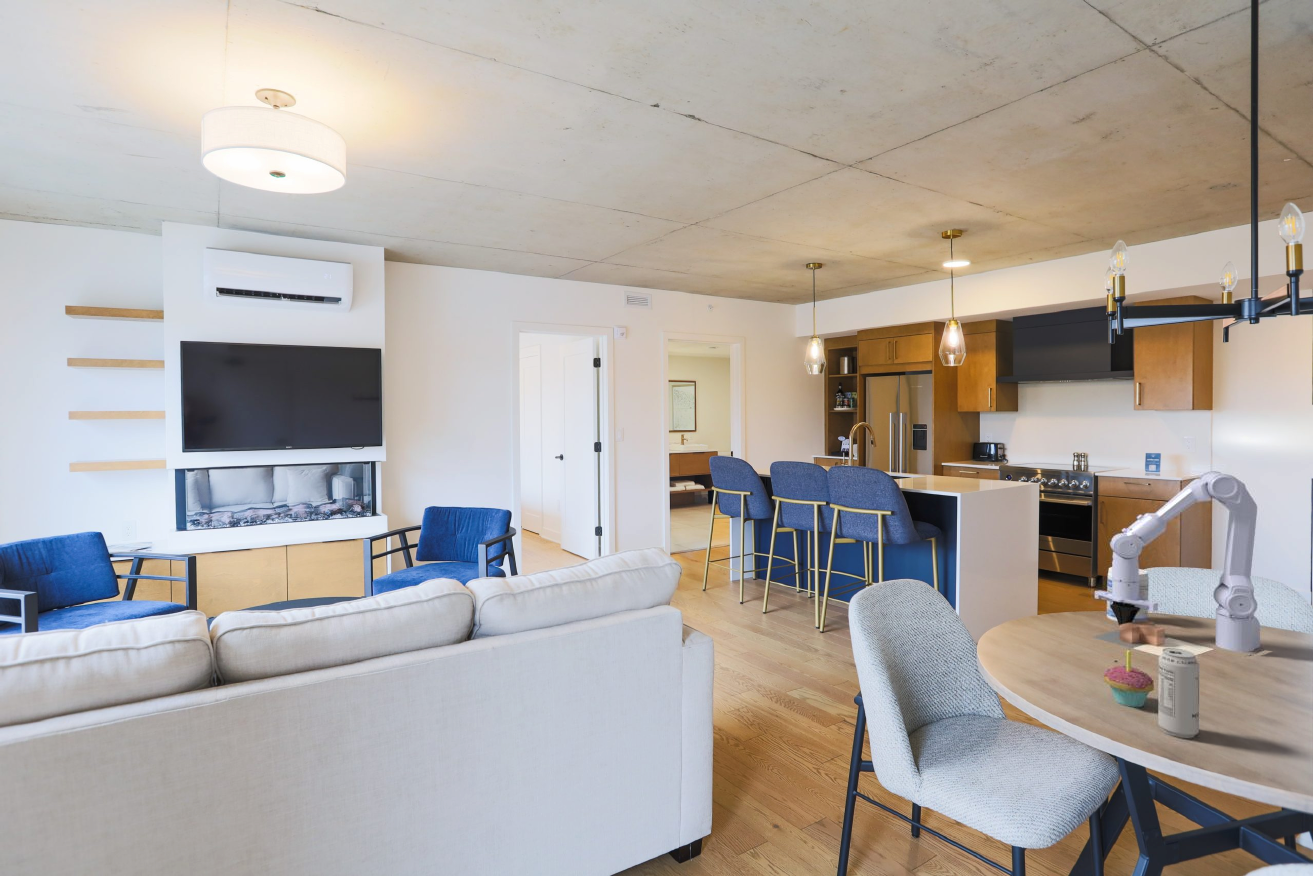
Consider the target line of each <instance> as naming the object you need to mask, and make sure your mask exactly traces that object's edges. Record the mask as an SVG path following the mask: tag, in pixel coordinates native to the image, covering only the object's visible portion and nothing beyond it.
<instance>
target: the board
mask: <svg viewBox="0 0 1313 876" xmlns="http://www.w3.org/2000/svg"><path fill="white" fill-rule="evenodd" d="M1092 638H1094V639H1097V640H1101V641H1106V642H1107V643H1108V642H1109V643H1113V644H1116V645H1120V646H1124V647H1126V648H1131V649H1134V650H1137V651H1142V652H1145V653H1149V654H1152V655H1156V656H1158V657H1160V655H1161V654H1162V653H1163V649H1165V648H1176V649H1182V650H1187V651H1190V652H1192V653H1194V654H1195V656H1197V655H1202V654H1204V653H1207V652H1210V651H1213V650H1215V648H1211V647H1208V646H1203V645H1199V644H1195V643H1192V642H1187V641H1184V640H1180V639H1175V638H1171V637H1167V636H1165V637H1164V644H1163V645H1160V646H1153V645H1149V644H1146V643H1142V642H1137V643H1133V644H1130V643H1126V642H1123V641H1119V629H1117V630H1113V631H1109V632H1106V633H1101V634H1097V635H1094V636H1092Z"/></svg>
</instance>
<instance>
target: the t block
mask: <svg viewBox="0 0 1313 876" xmlns="http://www.w3.org/2000/svg"><path fill="white" fill-rule="evenodd" d="M1118 627H1119V629H1118V630H1119V641H1123V642H1126V643H1130V644H1133V643H1137V642H1142V643H1146V644H1149V645H1153V646H1160V645H1163V644H1164V637H1166V636H1165V628H1164V627H1160V626H1156V625H1155V621H1150V620H1148V619H1147V620H1143V619H1141V620H1137V621H1133V622H1129V623H1126V624H1122V625H1119V624H1118Z"/></svg>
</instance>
